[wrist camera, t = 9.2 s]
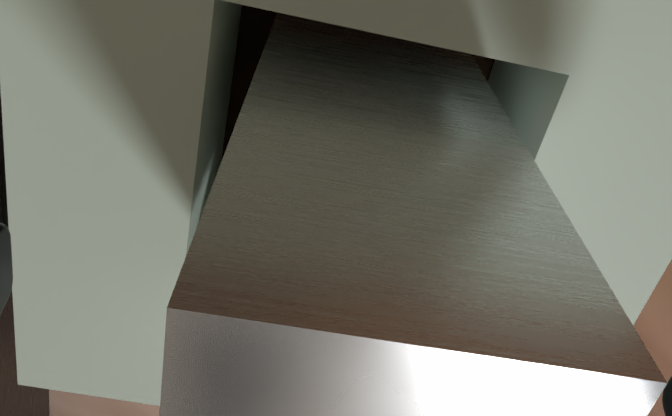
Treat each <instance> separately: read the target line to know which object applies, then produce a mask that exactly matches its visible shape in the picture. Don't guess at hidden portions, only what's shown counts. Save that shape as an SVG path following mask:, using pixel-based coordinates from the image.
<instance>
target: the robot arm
mask: <svg viewBox="0 0 672 416" xmlns="http://www.w3.org/2000/svg"><path fill="white" fill-rule="evenodd" d="M12 284H13V267H12V249H11V235H10V231H9V229H8V227H7V226H6V225H4V224H2V223H0V315H1V313H2V311H3V308H4V306H5V304H6V302H7V300H8V298H9V296H10V293H11V289H12ZM662 403H663V408H664V412H665V416H672V376H671V378H670V379H669V381H668V382H667V385H666V386H665V388H664V391H663V396H662Z"/></svg>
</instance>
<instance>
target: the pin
mask: <svg viewBox="0 0 672 416" xmlns="http://www.w3.org/2000/svg"><path fill="white" fill-rule="evenodd" d="M666 385H667V381H666V380H665V378H664V376H663V375H662V373H661V371H660V370H659V368H658V366H657V365H656V363H655V361H654V360H653V358H652V356H651V355H650V353H649V351H648V350H647V348H646V346H645V345H644V343H643V341H642V340H641V338H640V336H639V335H638V333H637V331H636V330H635V328H634V326H633V325H632V323H631V321H630V320H629V318H628V316H627V315H626V313H625V311H624V309H623V308H622V306H621V304H620V303H619V301H618V299H617V298H616V296H615V294H614V293H613V291H612V289H611V288H610V286H609V284H608V283H607V281H606V279H605V278H604V276H603V274H602V273H601V271H600V269H599V268H598V266H597V264H596V263H595V261H594V259H593V258H592V256H591V254H590V253H589V251H588V249H587V248H586V246H585V244H584V243H583V241H582V239H581V238H580V236H579V234H578V233H577V231H576V229H575V228H574V226H573V224H572V223H571V221H570V219H569V218H568V216H567V214H566V213H565V211H564V209H563V207H562V206H561V204H560V202H559V201H558V199H557V197H556V196H555V194H554V192H553V191H552V189H551V187H550V186H549V184H548V182H547V181H546V179H545V177H544V176H543V174H542V172H541V171H540V169H539V167H538V166H537V164H536V162H535V161H534V159H533V157H532V156H531V154H530V152H529V151H528V149H527V147H526V146H525V144H524V142H523V141H522V139H521V137H520V136H519V134H518V132H517V131H516V129H515V127H514V126H513V124H512V122H511V121H510V119H509V117H508V116H507V114H506V112H505V111H504V109H503V107H502V106H501V104H500V102H499V100H498V99H497V97H496V95H495V94H494V92H493V90H492V89H491V87H490V85H489V84H488V82H487V80H486V79H485V77H484V75H483V74H482V72H481V70H480V69H479V67H478V65H477V64H476V62H475V60H474V59H473V57H472V55H471V54H469V53H464V52H459V51H455V50H450V49H445V48H441V47H436V46H431V45H427V44H422V43H418V42H413V41H408V40H404V39H399V38H394V37H390V36H385V35H380V34H376V33H371V32H366V31H362V30H357V29H352V28H348V27H343V26H338V25H334V24H329V23H325V22H320V21H315V20H311V19H306V18H301V17H297V16H292V15H287V14H283V13H278V12H277V14H276V17H275V20H274V22H273V25H272V28H271V30H270V33H269V36H268V39H267V41H266V44H265V47H264V49H263V52H262V55H261V57H260V60H259V63H258V65H257V68H256V71H255V73H254V76H253V79H252V81H251V84H250V87H249V89H248V92H247V95H246V97H245V100H244V103H243V105H242V108H241V111H240V113H239V116H238V119H237V121H236V124H235V127H234V129H233V132H232V135H231V137H230V140H229V143H228V145H227V148H226V151H225V154H224V156H223V159H222V162H221V164H220V167H219V170H218V172H217V175H216V178H215V180H214V183H213V186H212V188H211V191H210V194H209V196H208V199H207V202H206V204H205V207H204V210H203V212H202V215H201V218H200V220H199V223H198V226H197V228H196V231H195V234H194V236H193V239H192V242H191V244H190V247H189V250H188V252H187V255H186V258H185V260H184V263H183V266H182V269H181V271H180V274H179V277H178V279H177V282H176V285H175V287H174V290H173V293H172V295H171V298H170V301H169V303H168V306H167V313H166V327H165V341H164V356H163V370H162V384H161V399H160V413H159V416H647V415H648V413H649V412H650V410H651V409H652V407H653V405H654V404H655V402H656V401H657V399H658V397H659V396H660V394H661V393H662V391H663V390H664V388H665V386H666Z"/></svg>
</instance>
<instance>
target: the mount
mask: <svg viewBox="0 0 672 416" xmlns="http://www.w3.org/2000/svg"><path fill="white" fill-rule="evenodd" d="M0 223H2V224H4V225H6V226H7V227H8V209H7V192H6V175H5V158H4V141H3V123H2V106H1V89H0ZM8 229H9V227H8ZM0 416H49V389H44V388H37V387H31V386H24V385H18V381H17V364H16V347H15V330H14V312H13V295H12V289H11V293H10V296H9V298H8V300H7V302H6V304H5V306H4V308H3V311H2V313H1V315H0Z"/></svg>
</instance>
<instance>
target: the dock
mask: <svg viewBox="0 0 672 416" xmlns="http://www.w3.org/2000/svg"><path fill="white" fill-rule="evenodd" d="M242 5H245V6H250V7H255V8H259V9H264V10H269V11H273V12H278V13H283V14H287V15H292V16H297V17H301V18H306V19H311V20H315V21H320V22H325V23H329V24H334V25H338V26H343V27H348V28H352V29H357V30H362V31H366V32H371V33H376V34H380V35H385V36H390V37H394V38H399V39H404V40H408V41H413V42H418V43H422V44H427V45H431V46H436V47H441V48H445V49H450V50H455V51H459V52H464V53H469V54H473V55H478V56H483V57H487V58H492V59H495V61H494V64H493V67H492V70H491V73H490V76H489V79H488V84H489V85H490V87H491V89H492V90H493V92H494V94H495V95H496V97H497V99H498V100H499V102H500V104H501V106H502V107H503V109H504V111H505V112H506V114H507V116H508V117H509V119H510V121H511V122H512V124H513V126H514V127H515V129H516V131H517V132H518V134H519V136H520V137H521V139H522V141H523V142H524V144H525V146H526V147H527V149H528V151H529V152H530V154H531V156H532V157H533V159H534V161H535V162H536V164H537V166H538V167H539V169H540V171H541V172H542V174H543V176H544V177H545V179H546V181H547V182H548V184H549V186H550V187H551V189H552V191H553V192H554V194H555V196H556V197H557V199H558V201H559V202H560V204H561V206H562V207H563V209H564V211H565V213H566V214H567V216H568V218H569V219H570V221H571V223H572V224H573V226H574V228H575V229H576V231H577V233H578V234H579V236H580V238H581V239H582V241H583V243H584V244H585V246H586V248H587V249H588V251H589V253H590V254H591V256H592V258H593V259H594V261H595V263H596V264H597V266H598V268H599V269H600V271H601V273H602V274H603V276H604V278H605V279H606V281H607V283H608V284H609V286H610V288H611V289H612V291H613V293H614V294H615V296H616V298H617V299H618V301H619V303H620V304H621V306H622V308H623V309H624V311H625V313H626V315H627V316H628V318H629V320H630V321H631V323H632V325H634V323H635V321H636V319H637V318H638V316H639V314H640V312H641V311H642V309H643V307H644V306H645V304H646V302H647V300H648V299H649V297H650V295H651V294H652V292H653V290H654V288H655V287H656V285H657V283H658V281H659V280H660V278H661V276H662V275H663V273H664V271H665V269H666V268H667V266H668V264H669V263H670V261H671V259H672V0H0V89H1V106H2V123H3V141H4V158H5V175H6V192H7V209H8V227H9V231H10V235H11V249H12V267H13V284H12V295H13V312H14V330H15V347H16V364H17V381H18V385H24V386H31V387H37V388H44V389H51V390H57V391H64V392H71V393H77V394H84V395H90V396H97V397H104V398H110V399H117V400H124V401H130V402H137V403H144V404H150V405H157V406H160V399H161V384H162V370H163V356H164V341H165V327H166V313H167V306H168V303H169V301H170V298H171V295H172V293H173V290H174V287H175V285H176V282H177V279H178V277H179V274H180V271H181V269H182V266H183V263H184V260H185V258H186V255H187V252H188V250H189V247H190V244H191V242H192V239H193V236H194V234H195V231H196V228H197V226H198V223H199V220H200V218H201V215H202V212H203V210H204V207H205V204H206V202H207V199H208V196H209V194H210V191H211V188H212V186H213V183H214V180H215V178H216V175H217V172H218V170H219V167H220V164H221V159H222V152H223V144H224V137H225V129H226V122H227V114H228V107H229V99H230V92H231V84H232V77H233V69H234V62H235V54H236V47H237V39H238V32H239V24H240V16H241V9H242Z"/></svg>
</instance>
